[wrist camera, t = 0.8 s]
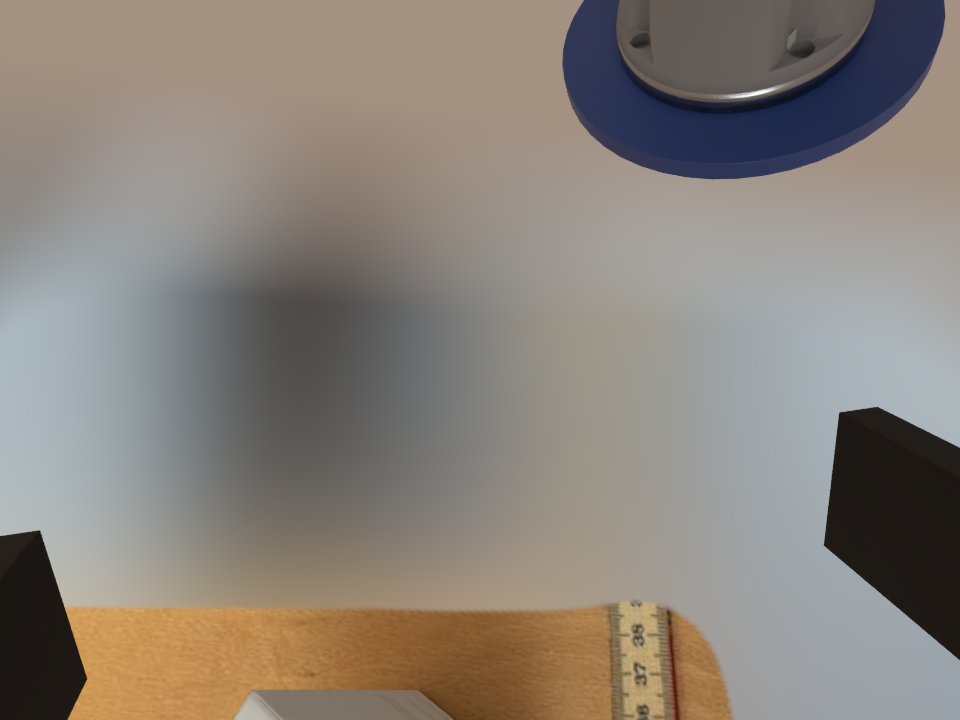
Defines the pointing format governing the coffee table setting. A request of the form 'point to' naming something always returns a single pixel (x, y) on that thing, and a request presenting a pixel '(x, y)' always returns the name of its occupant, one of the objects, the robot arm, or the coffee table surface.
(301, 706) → the white packaging box
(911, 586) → the robot arm
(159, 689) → the coffee table surface
